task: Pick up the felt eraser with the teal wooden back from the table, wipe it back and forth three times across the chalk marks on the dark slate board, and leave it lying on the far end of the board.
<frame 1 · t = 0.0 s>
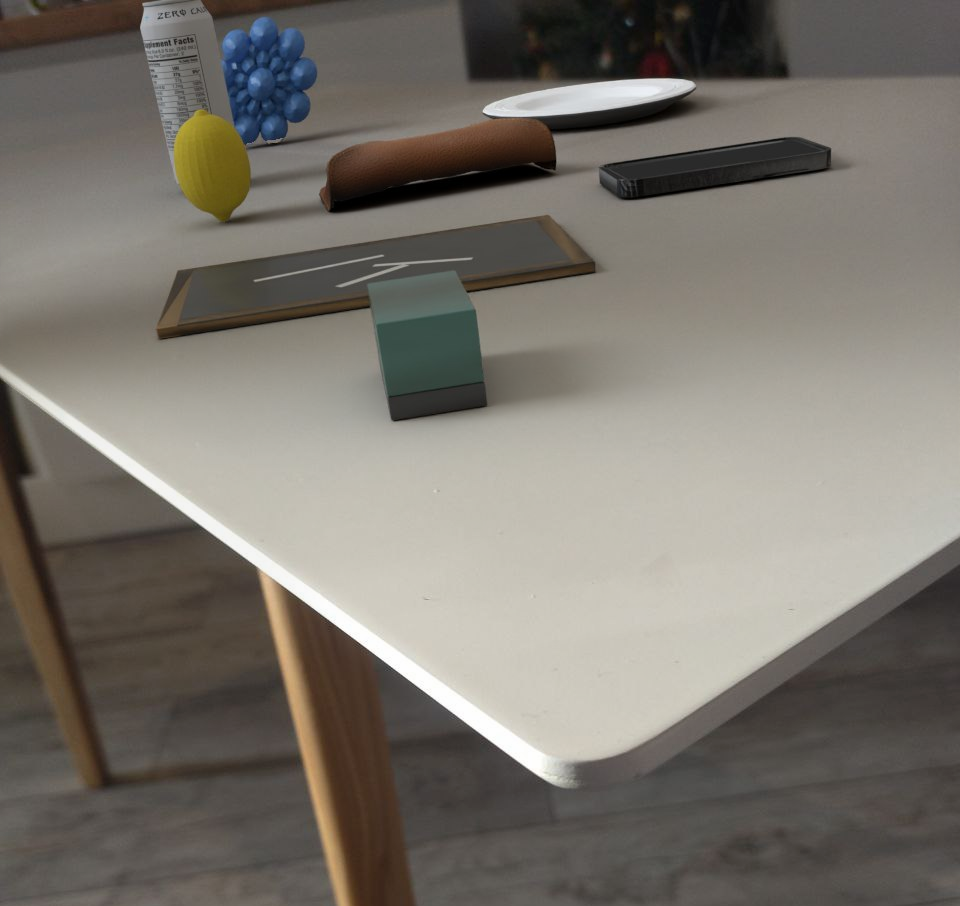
energy drink can: (212, 190, 109), on the table
grapes: (274, 145, 131), on the table
lemon: (225, 224, 94), on the table
sunglasses case: (434, 189, 96), on the table
plate: (589, 118, 120), on the table
eraser: (431, 387, 53), on the table
phone: (712, 177, 86), on the table
slate board: (372, 276, 72), on the table
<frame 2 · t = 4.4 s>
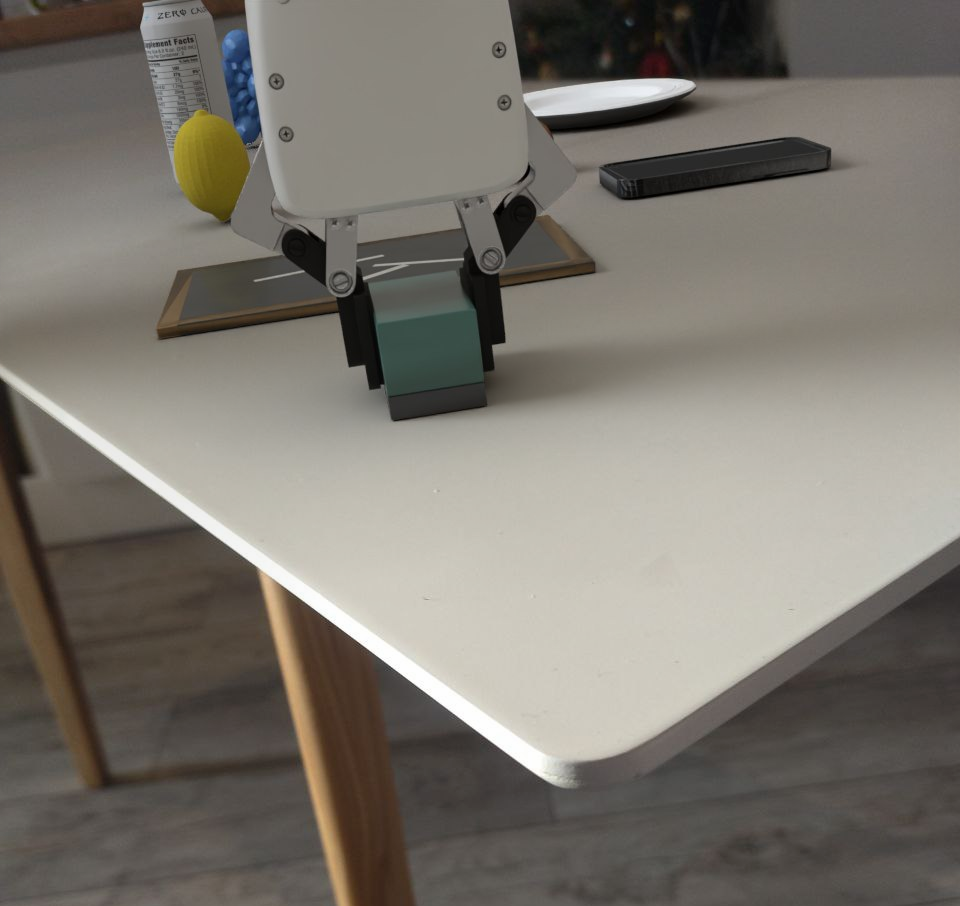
hand: (428, 367, 53), 1 cm above the table, tool pointing down, fingers closed on eraser, 4 cm apart
eraser: (431, 387, 53), on the table, touching gripper
everything else where it was.
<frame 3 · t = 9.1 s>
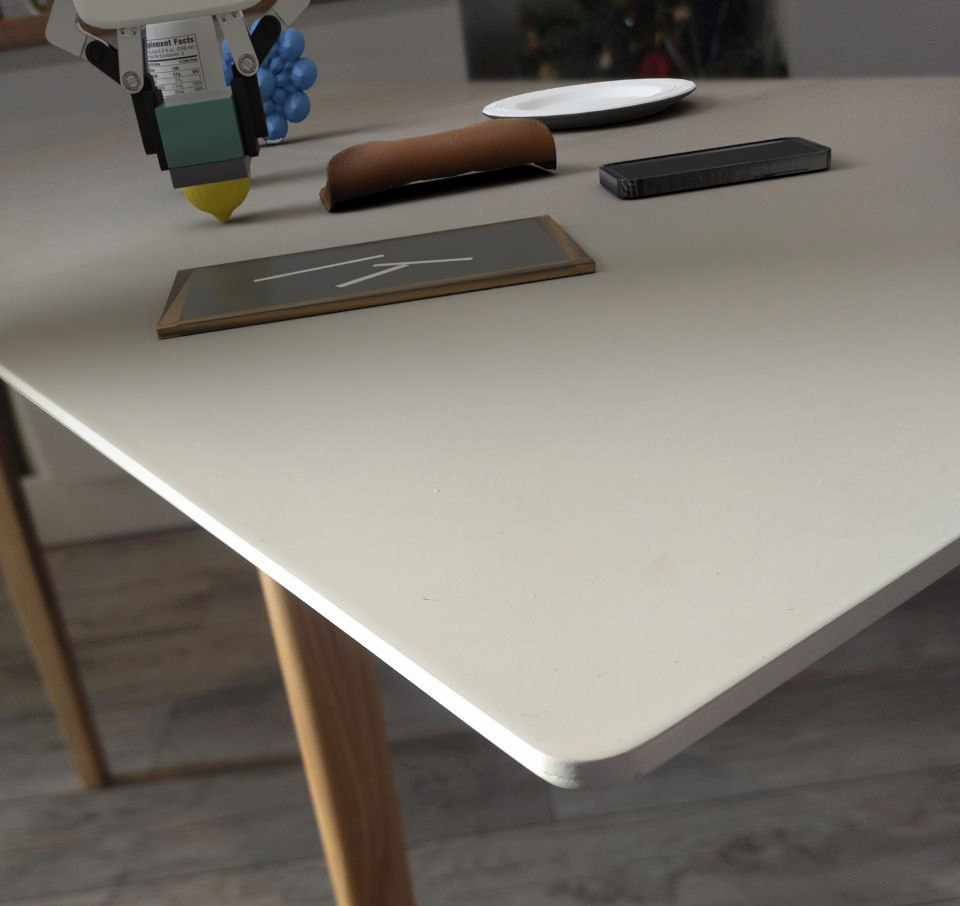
hand: (210, 156, 68), 8 cm above the table, tool pointing down, fingers closed on eraser, 4 cm apart
eraser: (214, 173, 68), point 7 cm above the table, touching gripper
everything else where it was.
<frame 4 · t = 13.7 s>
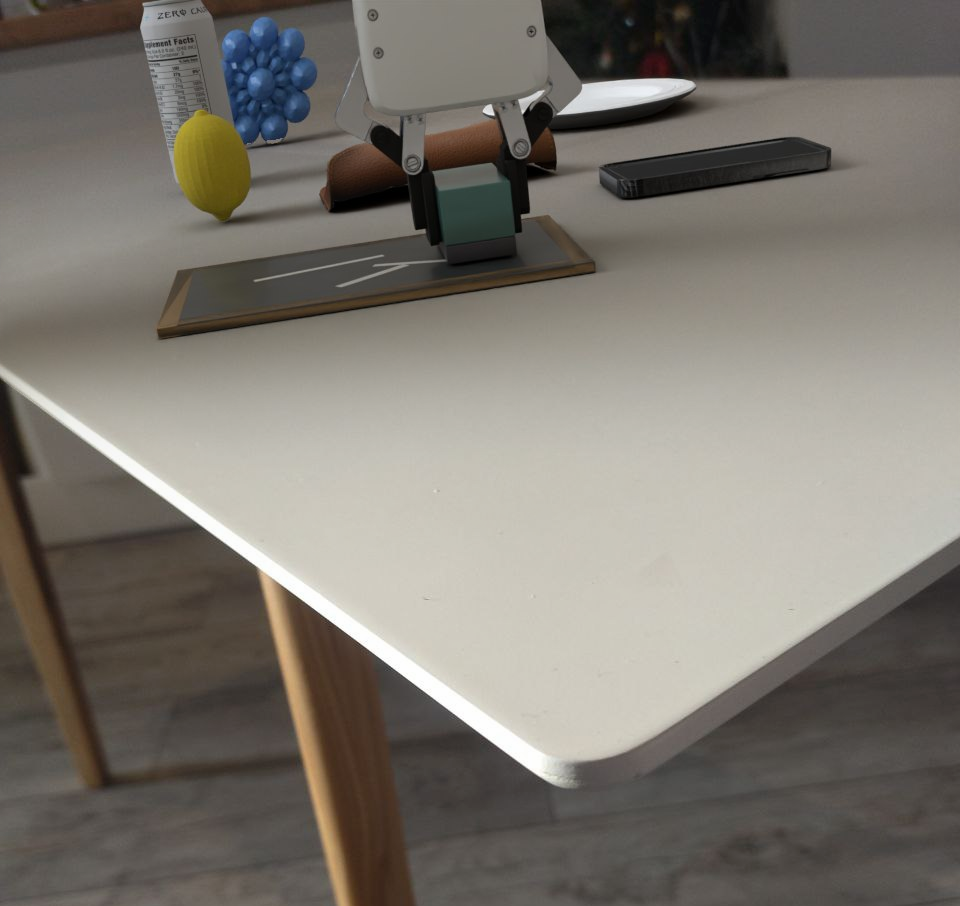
hand: (473, 231, 72), 2 cm above the table, tool pointing down, fingers closed on eraser, 4 cm apart
eraser: (474, 247, 72), point 1 cm above the table, touching gripper
everything else where it was.
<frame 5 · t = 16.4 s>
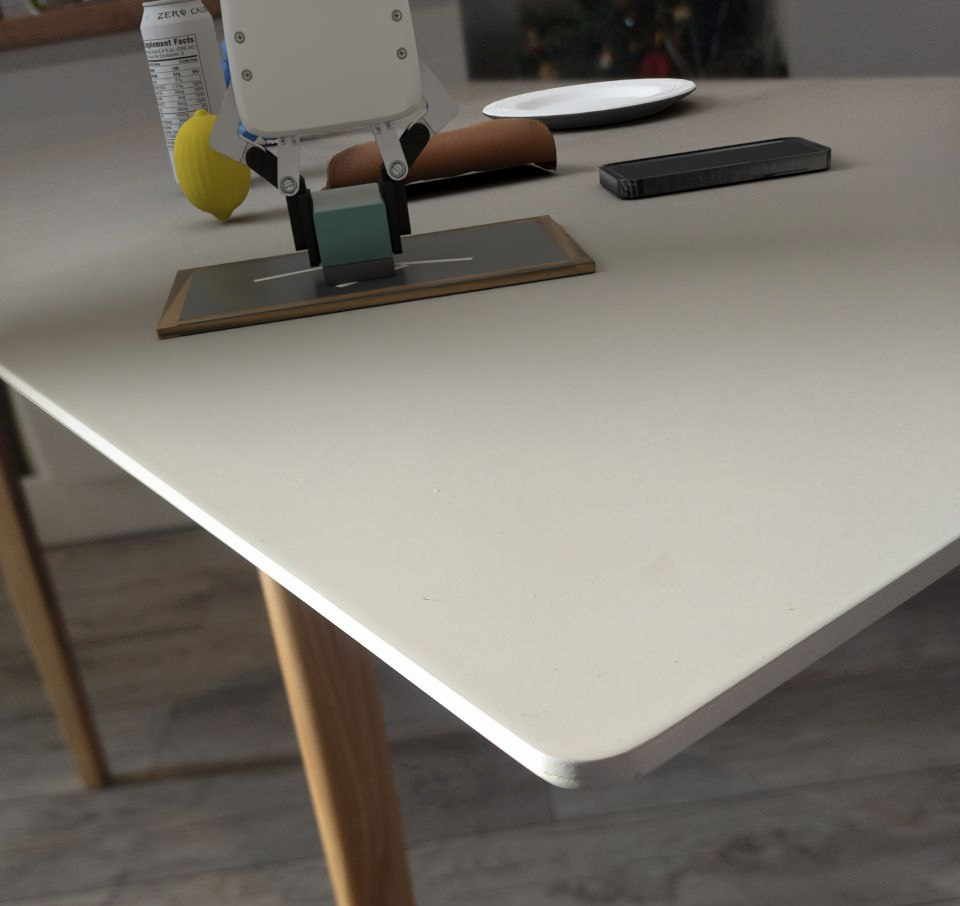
hand: (355, 252, 71), 2 cm above the table, tool pointing down, fingers closed on eraser, 4 cm apart
eraser: (358, 267, 72), point 1 cm above the table, touching gripper
everything else where it was.
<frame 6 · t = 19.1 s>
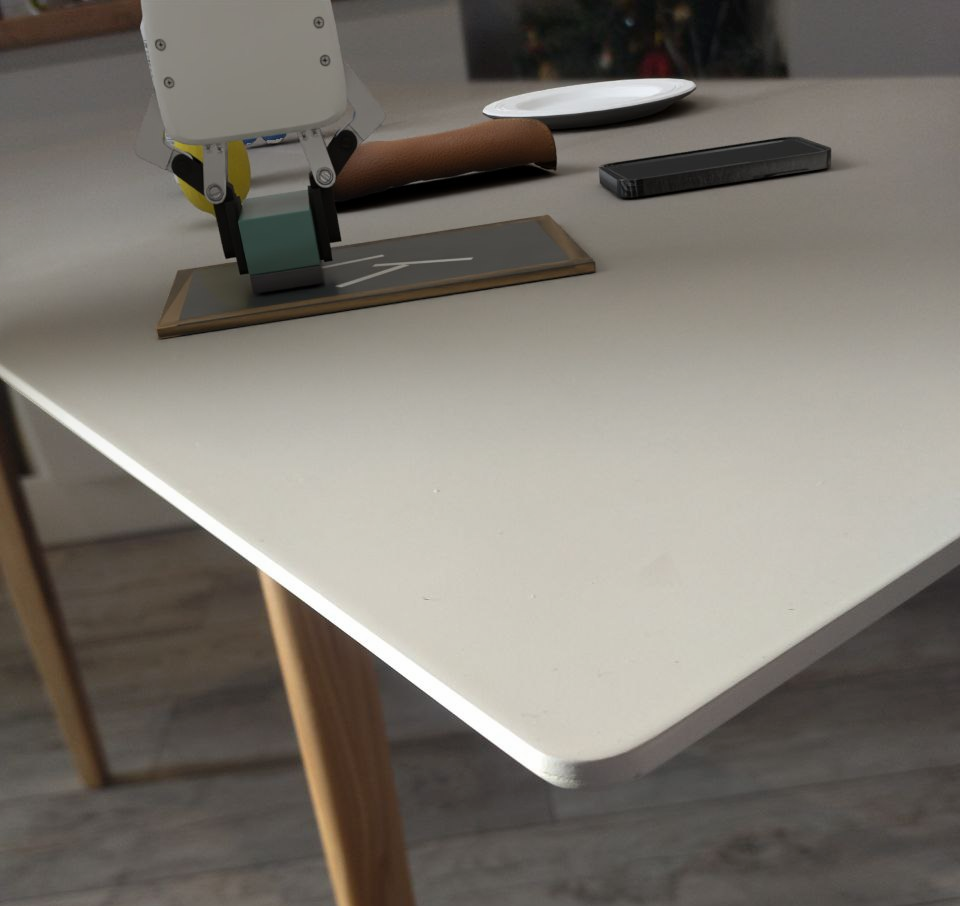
hand: (285, 259, 71), 2 cm above the table, tool pointing down, fingers closed on eraser, 4 cm apart
eraser: (288, 274, 72), point 1 cm above the table, touching gripper
everything else where it was.
when the fingers open (1 cm above the table, at t = 23.3 s): eraser stays where it is, resting on slate board.
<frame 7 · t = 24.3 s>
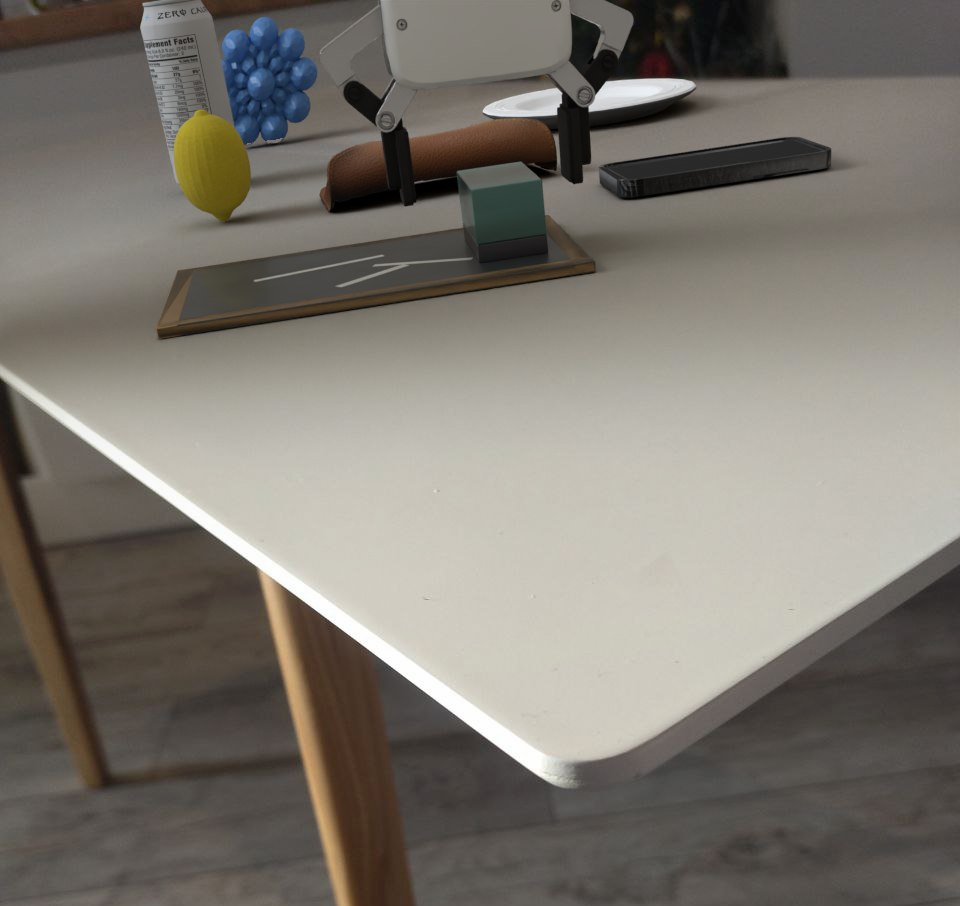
hand: (490, 191, 71), 4 cm above the table, tool pointing down, fingers open, 9 cm apart
eraser: (504, 245, 72), point 1 cm above the table, touching slate board
everything else where it was.
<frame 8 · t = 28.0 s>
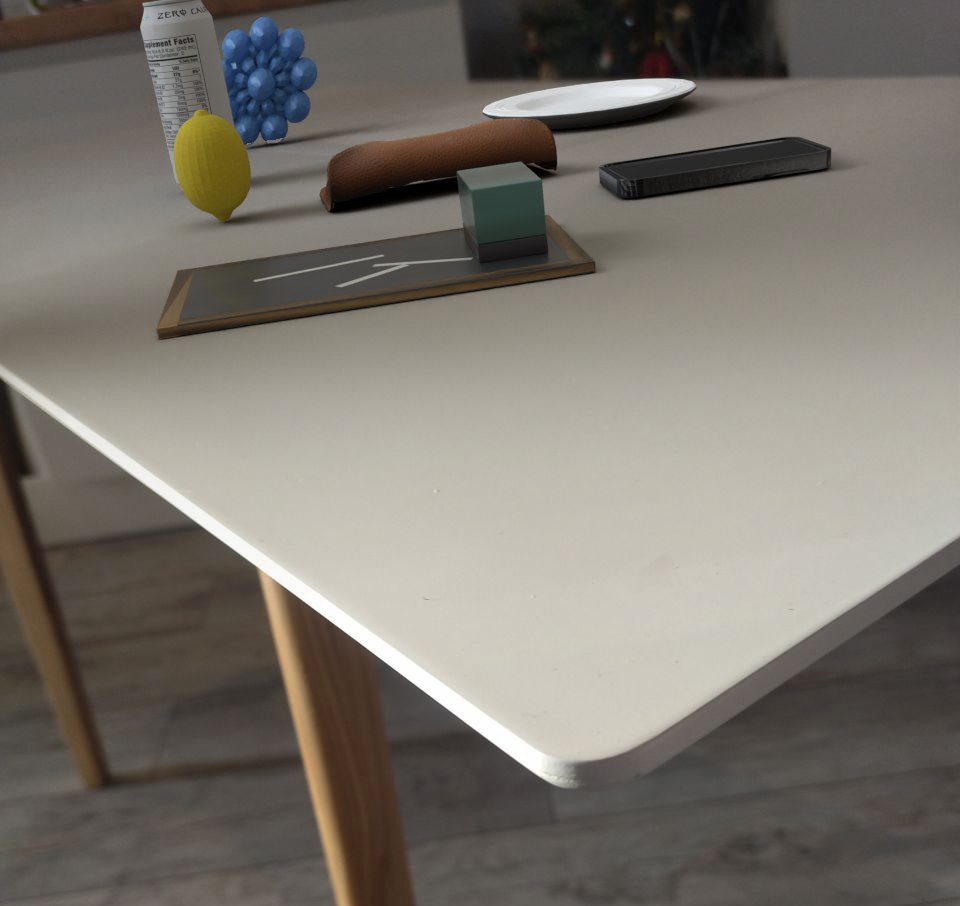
nothing on the table moved.
at the end: eraser 0.0 cm from the target spot on the slate board, point 0.6 cm above the slate board's base; eraser tilted 0°; eraser moved 23.3 cm from its start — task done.
